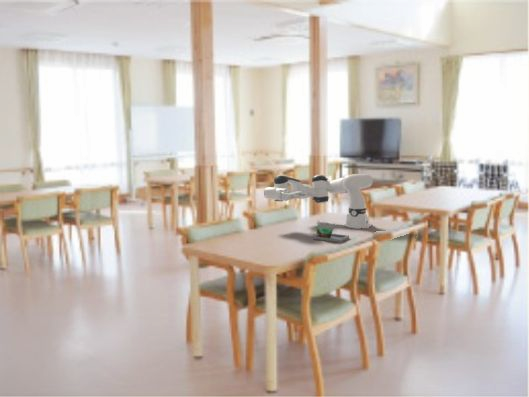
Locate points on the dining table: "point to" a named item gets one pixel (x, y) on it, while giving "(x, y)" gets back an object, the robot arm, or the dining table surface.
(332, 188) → the robot arm
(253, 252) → the dining table surface
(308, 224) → the dining table surface
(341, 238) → the tray
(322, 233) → the food container
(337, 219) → the dining table surface
